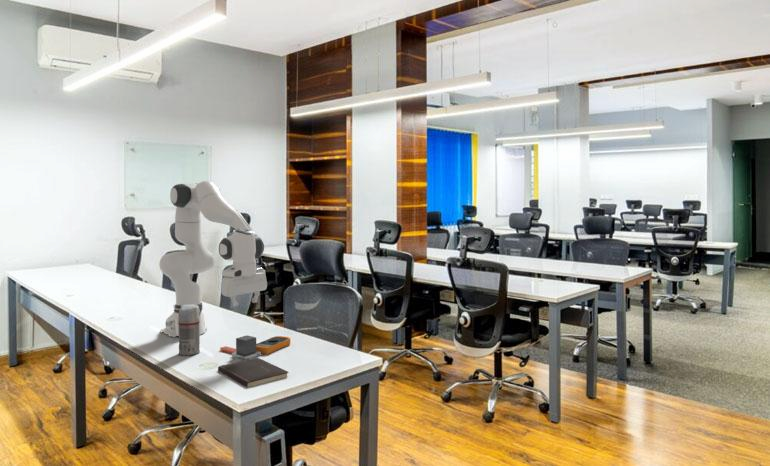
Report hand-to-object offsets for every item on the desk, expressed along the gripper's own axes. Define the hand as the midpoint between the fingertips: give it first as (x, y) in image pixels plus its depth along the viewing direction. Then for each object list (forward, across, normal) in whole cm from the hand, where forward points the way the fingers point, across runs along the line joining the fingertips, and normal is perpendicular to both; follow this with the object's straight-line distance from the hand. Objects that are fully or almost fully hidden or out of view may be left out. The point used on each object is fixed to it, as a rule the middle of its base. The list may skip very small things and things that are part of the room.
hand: (245, 304), depth 208 cm
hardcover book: (+22, +13, +19) cm, 32 cm away
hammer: (+21, 0, -5) cm, 22 cm away
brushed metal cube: (+20, 0, 0) cm, 20 cm away
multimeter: (+22, -14, 0) cm, 26 cm away
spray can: (+21, +11, -22) cm, 32 cm away
